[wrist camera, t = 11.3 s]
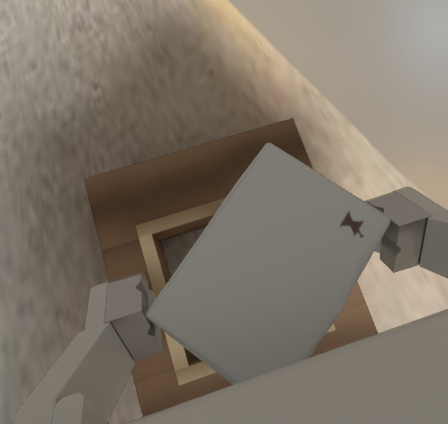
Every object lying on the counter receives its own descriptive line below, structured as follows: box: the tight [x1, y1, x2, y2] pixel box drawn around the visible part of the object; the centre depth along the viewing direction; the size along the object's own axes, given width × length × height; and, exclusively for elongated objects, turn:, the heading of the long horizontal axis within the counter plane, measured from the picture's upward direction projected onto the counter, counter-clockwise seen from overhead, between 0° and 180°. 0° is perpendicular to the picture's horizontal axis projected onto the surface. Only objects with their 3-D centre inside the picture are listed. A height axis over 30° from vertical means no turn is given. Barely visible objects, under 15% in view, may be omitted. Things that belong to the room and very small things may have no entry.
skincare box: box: [145, 143, 391, 385], centre depth 14 cm, size 6×4×12 cm
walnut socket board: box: [84, 118, 378, 417], centre depth 27 cm, size 22×18×4 cm
